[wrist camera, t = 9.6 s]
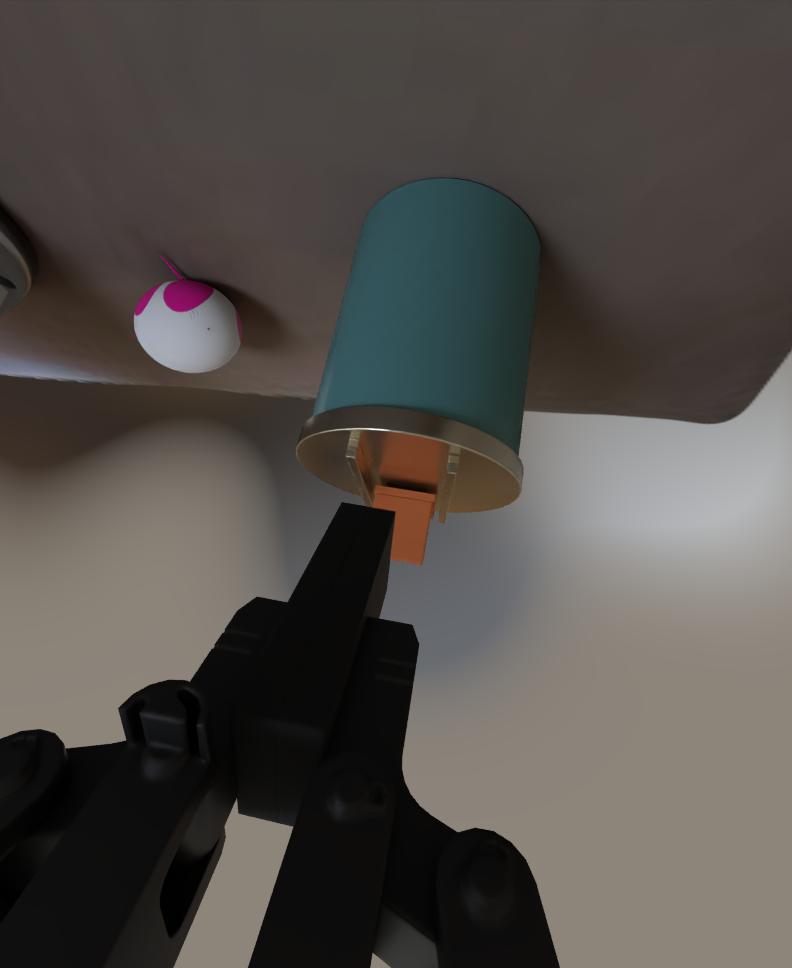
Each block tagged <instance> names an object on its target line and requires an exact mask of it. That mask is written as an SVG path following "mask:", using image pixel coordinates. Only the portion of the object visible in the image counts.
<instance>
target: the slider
mask: <svg viewBox="0 0 792 968" xmlns="http://www.w3.org/2000/svg"><path fill="white" fill-rule="evenodd" d="M374 493H375V500H374V505H373V508H379V509H385V510H391V511H396V514H395V522H394V531H393V540H392V548H391V557H390V559H391V560H397V561H402V562H408V563H413V564H419V565H422V564H423V558H424V552H425V546H426V541H427V535H428V528H429V522H430V519H433V516H434V508H435V500H436V495H435V494H429V493H423V492H417V491H411V490H404V489H398V488H392V487H386V486H380V485H376V486H375V490H374Z"/></svg>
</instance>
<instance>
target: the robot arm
mask: <svg viewBox="0 0 792 968" xmlns="http://www.w3.org/2000/svg"><path fill="white" fill-rule="evenodd" d="M37 272H38V264H37V260H36V257H35V254H34V252H33V250H32V248H31V246H30V245H29V243H28V242H27V240H26V239H25V237H24V236H23V235H22V233H21V232H20V231H19V229H18V228H17V227H16V226H15V225H14V223H13V222H12V221H11V220H10V219H9V218H8V217H7V216H6V215H5V213H4V212H3V211H2V210H1V209H0V317H1V316H3V315H4V314H5V313H6V312H8V311H9V310H10V309H11V308H13V307H14V306H15V305H17V304H18V303H19V302H20V301H21V300H22V299H23V298H24V297H25V296H26V295H27V293H28V291H29V289H30V288H31V286H32V284H33V282H34V280H35V278H36V276H37ZM395 514H396V511H391V510H385V509H379V508H373V507H367V506H361V505H355V504H349V503H343V502H342V503H341V505H340V507H339V508H338V510H337V512H336V514H335V516H334V518H333V520H332V521H331V523H330V525H329V527H328V529H327V531H326V533H325V534H324V536H323V538H322V540H321V542H320V544H319V545H318V547H317V549H316V551H315V553H314V555H313V556H312V558H311V560H310V562H309V564H308V566H307V568H306V569H305V571H304V573H303V575H302V577H301V579H300V580H299V582H298V584H297V586H296V588H295V590H294V591H293V594H292V595H291V597H290V599H289V601H288V602H282V601H277V600H272V599H266V598H261V597H256V598H254V599H253V600H251V601H250V602H249V603H247V604H246V605H245V606H243V607H242V608H240V609H239V610H238V611H237V612H236V614H235V615H234V616H233V618H232V620H231V621H230V622H229V624H228V625H227V627H226V628H225V632H224V633H222V635H221V636H220V637H219V639H218V641H217V642H216V643H215V647H214V649H211V651H210V652H209V654H208V656H207V657H206V659H205V660H204V661H203V663H202V664H201V666H200V668H199V669H198V671H197V672H196V673H195V675H194V677H193V678H192V679H191V681H190V682H189V681H186V680H166V681H162V682H158V683H155V684H151V685H149V686H147V687H145V688H144V689H141V690H140V691H138V692H136V693H134V694H133V695H132V696H131V697H130V698H128V699H127V701H125V702H124V703H123V704H122V705H121V706H120V707H119V708H118V710H119V713H120V717H121V721H122V725H123V729H124V732H125V736H126V741H122V742H117V743H112V744H104V745H95V746H87V747H77V748H67V749H65V746H64V743H63V742H62V741H61V740H60V739H59V737H58V736H57V735H56V734H55V733H52V732H49V731H45V730H41V729H37V730H27V731H20V732H18V733H15V734H12V735H9V736H7V737H4V738H1V739H0V968H173V967H174V965H175V962H176V960H177V958H178V955H179V953H180V951H181V948H182V946H183V944H184V941H185V939H186V936H187V934H188V932H189V929H190V927H191V925H192V922H193V920H194V917H195V915H196V913H197V910H198V908H199V906H200V903H201V901H202V899H203V896H204V894H205V891H206V889H207V887H208V884H209V882H210V880H211V877H212V875H213V873H214V870H215V868H216V866H217V863H218V861H219V859H220V856H221V854H222V849H223V846H224V842H225V838H226V836H225V828H224V826H225V823H226V821H227V819H228V817H229V814H230V812H231V810H232V808H233V805H234V803H235V801H236V798H237V802H238V813H239V814H243V815H247V816H251V817H256V818H259V819H264V820H268V821H272V822H276V823H280V824H285V825H289V826H293V830H292V833H291V837H290V839H289V843H288V846H287V849H286V852H285V855H284V858H283V861H282V864H281V867H280V870H279V873H278V877H277V880H276V883H275V886H274V889H273V892H272V895H271V898H270V901H269V904H268V907H267V911H266V914H265V917H264V920H263V923H262V926H261V929H260V932H259V935H258V938H257V941H256V945H255V948H254V951H253V954H252V957H251V960H250V963H249V966H248V968H370V966H371V959H372V953H374V954H375V955H376V956H378V957H379V958H380V959H381V960H383V961H384V962H385V963H386V964H388V965H389V966H390V967H391V968H560V966H559V963H558V959H557V956H556V952H555V949H554V945H553V941H552V938H551V934H550V931H549V927H548V924H547V920H546V916H545V913H544V909H543V906H542V902H541V899H540V895H539V891H538V888H537V884H536V882H535V879H534V877H533V875H532V872H531V870H530V868H529V866H528V863H527V861H526V859H525V858H524V857H523V856H522V855H521V853H520V852H519V851H518V850H517V849H516V847H515V846H514V845H513V844H512V843H511V842H510V841H508V840H507V839H505V838H504V837H502V836H500V835H499V834H497V833H496V832H494V831H490V830H484V829H479V828H472V829H469V830H465V831H461V832H456V831H455V830H453V829H452V828H450V827H448V826H447V825H445V824H444V823H442V822H441V821H439V820H438V819H436V818H435V817H433V816H431V815H430V814H429V813H428V812H426V811H425V810H424V809H423V808H422V807H420V806H419V804H418V803H417V802H416V800H415V799H414V798H413V797H412V795H411V794H410V792H409V790H408V787H407V785H406V783H405V781H404V776H403V771H402V755H403V747H404V742H405V735H406V728H407V722H408V715H409V708H410V702H411V695H412V689H413V681H414V675H415V669H416V663H417V656H418V649H419V642H418V640H417V637H416V634H415V631H414V628H413V625H411V624H405V623H400V622H395V621H390V620H384V619H379V617H380V613H381V609H382V605H383V601H384V598H385V594H386V590H387V583H388V574H389V565H390V557H391V548H392V540H393V531H394V522H395Z"/></svg>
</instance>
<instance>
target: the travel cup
mask: <svg viewBox="0 0 792 968" xmlns="http://www.w3.org/2000/svg"><path fill="white" fill-rule="evenodd" d="M540 265H541V248H540V242H539V239H538V235H537V233H536V231H535V229H534V227H533V225H532V223H531V221H530V220H529V219H528V217H527V216H526V214H525V213H524V212H523V211H522V210H521V209H520V208H519V207H518V206H517V205H516V204H515V203H514V202H512V201H511V200H510V199H508V198H507V197H506V196H504V195H502V194H501V193H499V192H497V191H496V190H494V189H491V188H489V187H487V186H484V185H482V184H478V183H475V182H471V181H468V180H461V179H455V178H433V179H424V180H420V181H415V182H412V183H409V184H406V185H403V186H401V187H399V188H397V189H395V190H393V191H391V192H390V193H388V194H387V195H386V196H384V197H383V198H382V199H380V200H379V201H378V202H377V204H376V205H375V206H374V207H373V208H372V209H371V211H370V212H369V213H368V215H367V217H366V219H365V221H364V223H363V225H362V229H361V233H360V236H359V240H358V244H357V248H356V251H355V255H354V259H353V263H352V267H351V270H350V274H349V278H348V282H347V285H346V289H345V293H344V297H343V300H342V304H341V308H340V312H339V316H338V319H337V323H336V327H335V331H334V334H333V338H332V342H331V346H330V350H329V353H328V357H327V361H326V365H325V368H324V372H323V376H322V380H321V384H320V387H319V391H318V395H317V399H316V402H315V406H314V410H313V414H312V417H311V418H310V419H309V420H308V421H307V422H305V424H304V425H303V427H302V429H301V433H300V436H299V440H298V444H297V448H296V454H297V458H298V460H299V461H300V463H301V464H302V465H303V466H304V467H305V468H306V469H307V470H308V471H309V472H311V473H312V474H314V475H315V476H317V477H318V478H320V479H321V480H323V481H325V482H327V483H329V484H331V485H333V486H335V487H337V488H340V489H342V490H345V491H347V492H350V493H352V494H355V495H358V496H361V497H362V498H363V501H364V503H365V505H366V506H367V507H373V505H374V500H375V493H374V490H375V486H376V485H380V486H386V487H392V488H398V489H404V490H411V491H417V492H423V493H429V494H435V495H436V500H435V508H434V511H437V512H440V513H439V519H438V522H440V523H445V521H446V517H447V513H448V512H479V511H487V510H493V509H497V508H500V507H504V506H506V505H509V504H510V503H512V502H514V501H515V500H516V499H517V498H518V497H519V495H520V493H521V490H522V480H523V465H522V462H521V460H520V459H519V457H518V456H519V447H520V438H521V430H522V420H523V413H524V404H525V395H526V387H527V378H528V369H529V361H530V352H531V343H532V334H533V326H534V317H535V308H536V300H537V291H538V282H539V274H540Z"/></svg>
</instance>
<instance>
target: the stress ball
mask: <svg viewBox="0 0 792 968" xmlns="http://www.w3.org/2000/svg"><path fill="white" fill-rule="evenodd" d="M158 254H159V253H158ZM159 255H160V254H159ZM160 256H161V255H160ZM161 257H162V256H161ZM162 258H163V257H162ZM163 260H164V261H165V262H166V263H167V264H168V265H169V267H170V268H171V269H172V270H173V271H174V273H175V274H176V275H177V276H178V277H179V279H180V280H174V281H169V282H165V283H162V284H159V285H157V286H156V287H154V288H152V289H151V290H149V291H148V292H147V293H146V294H145V295H144V296H143V297H142V298H141V300H140V301H139V303H138V305H137V307H136V310H135V314H134V328H135V332H136V335H134V336H137V338H138V340H139V342H140V344H141V345H142V347H143V348H144V350H145V351H146V352H147V353H148V354H149V355H150V356H151V357H152V358H153V359H155V360H156V361H157V362H159V363H160V364H162V365H164V366H166V367H168V368H170V369H173V370H176V371H180V372H186V373H203V372H208V371H212V370H215V369H217V368H219V367H221V366H223V365H225V364H226V363H227V362H229V361H230V360H231V359H232V358H233V357H234V355H235V354H236V353H237V351H238V349H239V347H240V344H241V341H242V323H241V319H240V317H239V314H238V312H237V310H236V309H235V307H234V306H233V304H232V303H231V302H230V301H229V300H228V299H227V298H226V297H225V296H224V295H223V294H222V293H220V292H219V291H217V290H216V289H214V288H212V287H210V286H208V285H206V284H203V283H199V282H196V281H190V280H185V279H184V278H183V277H182V276H181V275H180V274H179V273H178V272H177V271H176V270H175V269H174V268H173V267H172V266H171V265H170V264H169V263H168V262H167V261H166V260H165V259H164V258H163ZM131 337H133V336H131Z"/></svg>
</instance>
